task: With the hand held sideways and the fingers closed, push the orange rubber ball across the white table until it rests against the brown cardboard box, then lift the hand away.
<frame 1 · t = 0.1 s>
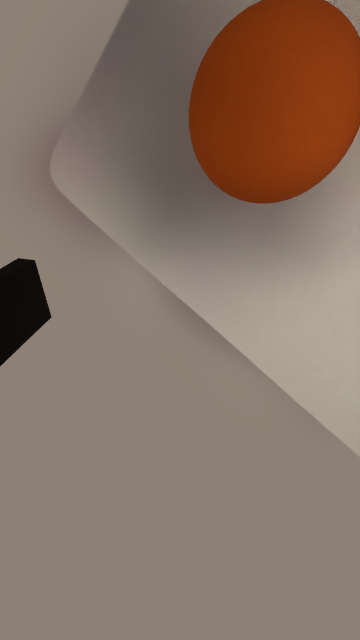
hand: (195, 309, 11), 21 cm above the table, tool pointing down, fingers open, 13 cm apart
ball: (271, 115, 20), point 5 cm above the table
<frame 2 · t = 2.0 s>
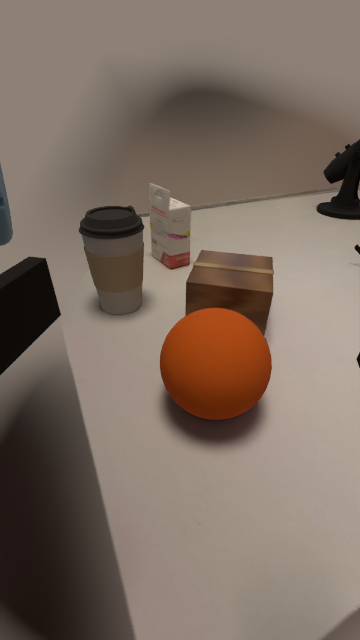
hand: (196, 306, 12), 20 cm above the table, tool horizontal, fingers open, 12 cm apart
ink cartridge box: (170, 260, 64), on the table
coffee cup: (121, 303, 50), on the table
ball: (214, 362, 30), point 5 cm above the table
microphone: (342, 213, 94), on the table
box: (227, 315, 47), on the table
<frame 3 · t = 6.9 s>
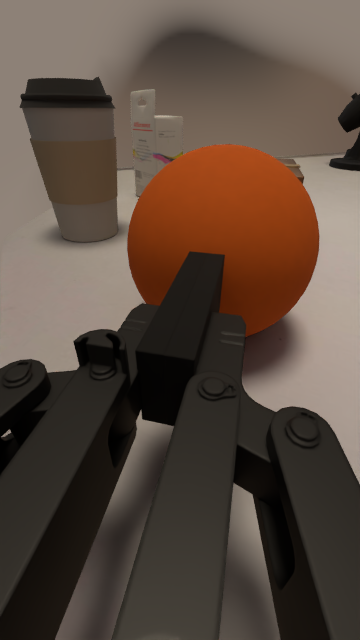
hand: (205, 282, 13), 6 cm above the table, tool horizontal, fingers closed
ink cartridge box: (158, 199, 51), on the table
coffee cup: (90, 233, 37), on the table
ball: (219, 249, 18), point 5 cm above the table, touching gripper
microphone: (359, 167, 82), on the table
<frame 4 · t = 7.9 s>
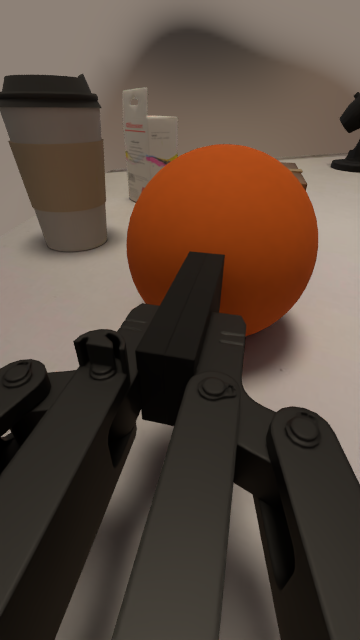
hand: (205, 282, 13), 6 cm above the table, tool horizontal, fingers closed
ink cartridge box: (153, 203, 49), on the table
coffee cup: (77, 241, 35), on the table
ball: (218, 249, 18), point 5 cm above the table, tilted 17°, touching gripper
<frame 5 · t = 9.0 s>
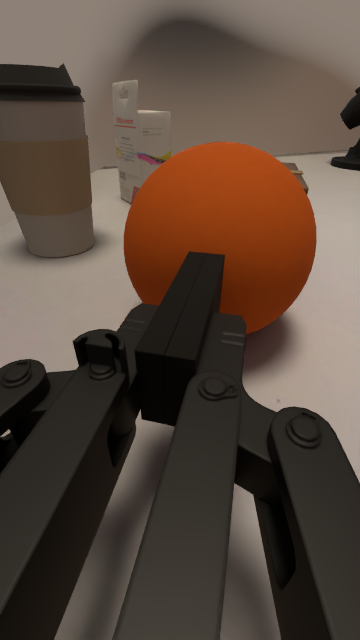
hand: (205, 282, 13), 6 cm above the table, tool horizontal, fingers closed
ink cartridge box: (145, 203, 47), on the table
coffee cup: (62, 245, 32), on the table
ball: (216, 248, 18), point 5 cm above the table, tilted 26°, touching box, gripper
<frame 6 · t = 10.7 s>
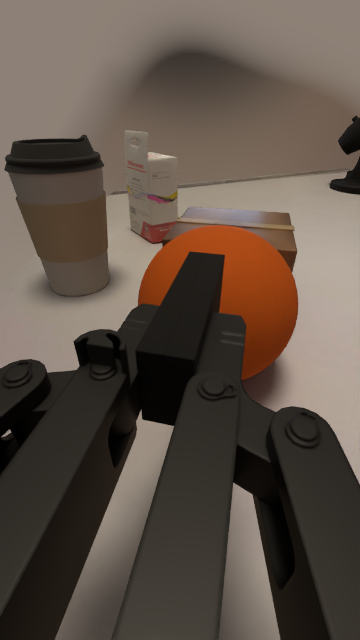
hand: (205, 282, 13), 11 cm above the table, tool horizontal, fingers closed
ink cartridge box: (153, 235, 51), on the table
coffee cup: (80, 283, 36), on the table
ball: (215, 305, 21), point 5 cm above the table, tilted 41°
microphone: (359, 189, 81), on the table
box: (225, 296, 33), on the table
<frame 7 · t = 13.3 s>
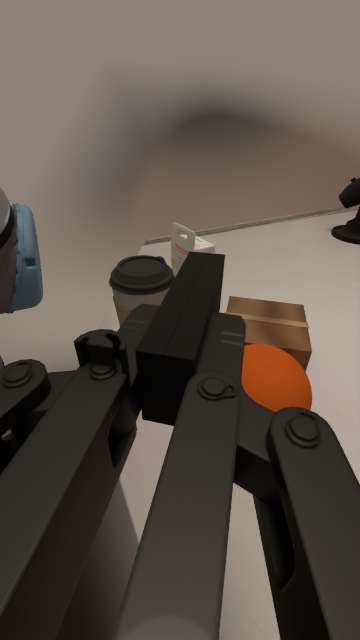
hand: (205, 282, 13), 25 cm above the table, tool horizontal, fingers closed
ink cartridge box: (191, 295, 63), on the table
coffee cup: (147, 349, 49), on the table
ball: (258, 392, 34), point 5 cm above the table, tilted 39°
microphone: (357, 237, 93), on the table
box: (256, 362, 46), on the table
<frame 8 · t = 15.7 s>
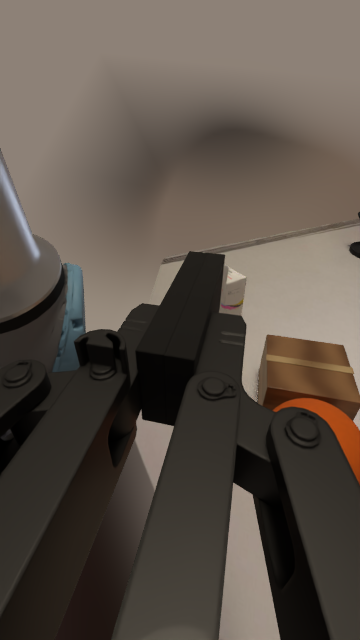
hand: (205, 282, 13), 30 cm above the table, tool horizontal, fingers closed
ink cartridge box: (217, 323, 62), on the table
ball: (310, 449, 33), point 5 cm above the table, tilted 38°
box: (295, 402, 45), on the table
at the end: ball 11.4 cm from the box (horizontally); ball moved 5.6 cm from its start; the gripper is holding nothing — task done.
